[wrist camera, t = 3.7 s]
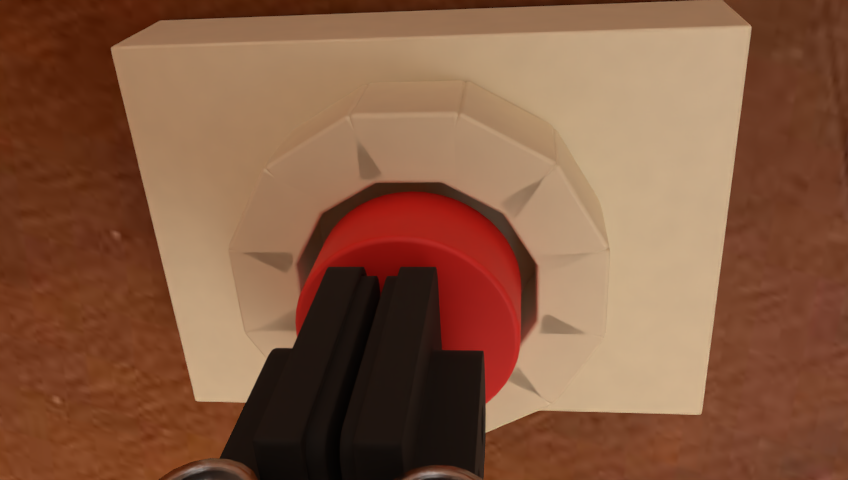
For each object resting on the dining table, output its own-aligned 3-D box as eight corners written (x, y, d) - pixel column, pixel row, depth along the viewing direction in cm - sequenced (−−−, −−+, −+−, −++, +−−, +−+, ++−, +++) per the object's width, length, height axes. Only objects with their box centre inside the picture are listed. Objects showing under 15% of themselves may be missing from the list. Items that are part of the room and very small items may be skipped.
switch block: (722, -1, 15) (786, 53, 11) (683, 353, 18) (721, 479, 15) (158, 20, 16) (55, 75, 13) (227, 345, 20) (162, 458, 16)
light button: (521, 188, 13) (520, 237, 11) (521, 367, 15) (520, 431, 13) (307, 189, 13) (279, 237, 12) (331, 363, 15) (309, 424, 14)
